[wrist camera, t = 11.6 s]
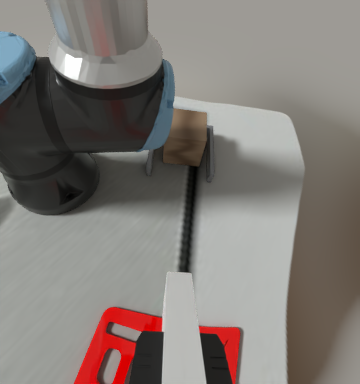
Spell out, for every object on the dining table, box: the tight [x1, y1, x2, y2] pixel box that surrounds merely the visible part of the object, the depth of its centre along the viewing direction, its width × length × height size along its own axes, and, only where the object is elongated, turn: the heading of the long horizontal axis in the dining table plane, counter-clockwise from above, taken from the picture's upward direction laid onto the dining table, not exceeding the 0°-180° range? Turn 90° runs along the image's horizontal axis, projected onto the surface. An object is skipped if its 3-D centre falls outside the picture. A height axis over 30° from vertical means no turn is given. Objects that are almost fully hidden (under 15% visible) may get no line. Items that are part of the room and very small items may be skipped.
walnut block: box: [163, 108, 207, 167], centre depth 44 cm, size 8×8×8 cm
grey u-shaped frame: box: [146, 125, 214, 182], centre depth 46 cm, size 14×14×3 cm
